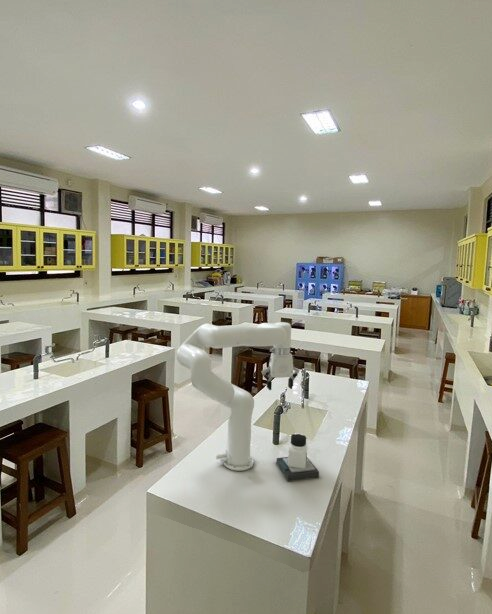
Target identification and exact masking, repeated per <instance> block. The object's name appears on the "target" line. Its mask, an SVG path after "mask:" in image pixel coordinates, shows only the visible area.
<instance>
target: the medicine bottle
mask: <svg viewBox="0 0 492 614" xmlns="http://www.w3.org/2000/svg"><path fill="white" fill-rule="evenodd" d="M287 457H288V467H295V468H302V469H306V461H307V458H308V444H307V436H306V435H305V434H303V433H299V432H295V433H293V434H291V436H290V441H289V445H288V455H287Z"/></svg>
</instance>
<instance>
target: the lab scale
mask: <svg viewBox="0 0 492 614" xmlns="http://www.w3.org/2000/svg"><path fill="white" fill-rule="evenodd" d="M275 464H276V465H277V467H278V468H279V470H280V472H281V473H282V475H283V476H284V478H285V479H286V481H287V482H293V481H294V482H295V481H302V480H310V479H319V476H320V471H319V470H318V468H317V467H316V466H315V465H314V464H313V463H312V461H311V460H310V459H309V458H308V457H307V461H306V469H302V468H295V467H288V456H283V457H282V456H281V457H276V461H275Z"/></svg>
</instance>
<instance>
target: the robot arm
mask: <svg viewBox="0 0 492 614" xmlns="http://www.w3.org/2000/svg"><path fill="white" fill-rule="evenodd" d="M291 343H292V325H291V323H290V322H286V321H285V322H284V321H278V322H262V323H259V324H258V325H256V326H253V325H249V324H233V325H232V324H231V325H230V324H229V325H216V324H215V325H214V324H212V323H203V324H201V325H200V326H199V327H197V328H196V329H195V330H194V331H193V332H192V333H191V334H190V335H189V336H188V337H187V338H186V339H185V340H184V341H183V342H182V343H181V345H179V347H178V349H177V351H176V355H175V356H176V360H177V362H178V363H179V364H180V365H181V366H183V367H185V368H187V369H188V370H190V382H191V384H192V387H193V388H194V389H196V390H197V391H199V392H200V393H202V394H203V395H204V396H206V397H207V398H208V399H211V400H212V401H214V402H216V403H219V404H220V405H222V406H223V407H226V408H227V409H229V410H230V411H231V414H230V415H229V417H228V420H227V449H226V450H225V452H223V453H218V454H215V459H216V460H219V462H223V465H224V466H225V467H226V468H227V469H229V470H231V471H237V472H241V471H246V470H249V469H251V468H252V467H253V466H254V463H255V461H254V458H253V457H252V456H251V440H252V439H251V437H252V436H251V435H252V418H253V412H254V408H255V399H254V397H253V395H252V394H251V393H250V392H249V391H247V390H245V389H244V388H241V387H239V386H237V385H235V384H234V383H231V382H230V381H229V380H227V378H225V377H222V376H220V375H218V374H217V373H215V372H212V361H211V357H210V355H209V354H208V352H206V351H205V350H204V349H205V348H206V347H209V348H212V349H225V348H234V347H271V348H269V352H271V353H270V357H269V363H268V366H267V367H265V368H264V369H263V370H261V371H260V372H261V374H262V376H263V378H264V379H266V388H267V390H269V391H272V386H273V385H272V379H273V378H274V379H279V378H288V379H287V382H288V383H287V387H288V388H289V389H290V390H293V387H294V381H295V378H297V377H298V374H299V373H300V369H299V368H297V367H296V366H294V359H293V354H292V353H291ZM267 373H268V375H267Z"/></svg>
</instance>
